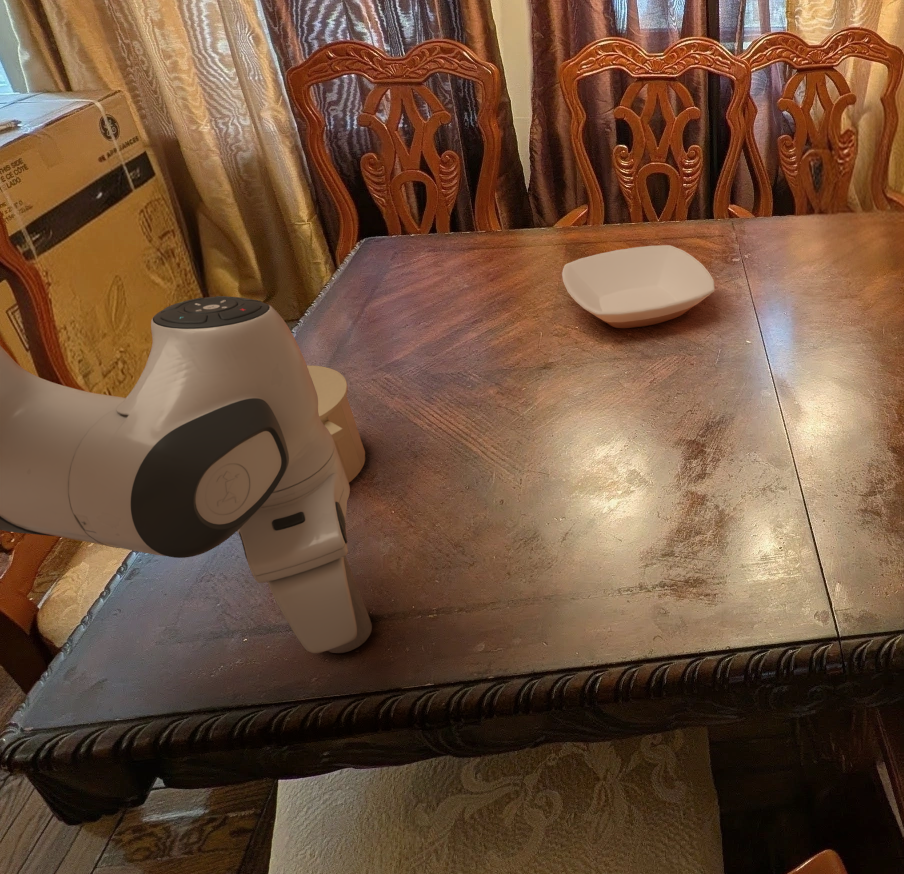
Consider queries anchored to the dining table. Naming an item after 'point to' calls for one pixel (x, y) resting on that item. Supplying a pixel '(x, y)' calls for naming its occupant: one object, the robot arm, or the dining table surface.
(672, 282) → the bowl
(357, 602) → the planter
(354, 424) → the pot
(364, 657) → the dining table surface
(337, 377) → the pot lid
